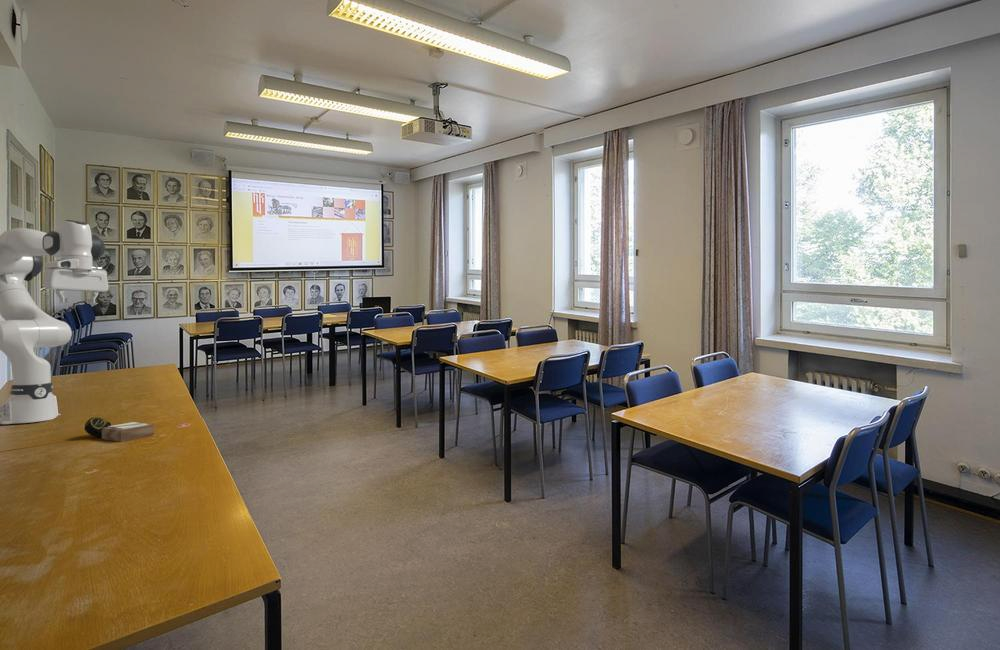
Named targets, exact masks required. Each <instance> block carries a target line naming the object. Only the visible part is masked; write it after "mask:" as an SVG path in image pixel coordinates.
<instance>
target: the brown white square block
mask: <svg viewBox="0 0 1000 650" xmlns="http://www.w3.org/2000/svg"><path fill="white" fill-rule="evenodd" d="M151 436H155V425H154V424H153V423H152V424H151V423H143V422H135V421H131V422H126V423H121V424H114V425H111V426H108V427H104V428H102V437H101V440H108V441H114V442H119V443H121V442H126V441H127V442H128V441H130V440H137V439H142V438H143V439H144V438H146V437H151Z"/></svg>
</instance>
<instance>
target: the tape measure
mask: <svg viewBox="0 0 1000 650" xmlns="http://www.w3.org/2000/svg"><path fill="white" fill-rule="evenodd" d="M108 426H112V423H111V422H110V421H107V420H106V419H104V418H103V417H98V416H95V417H91V418H89V419H88V420H87V421H86V422H85V423H84V430H85V432H86V433H87V434H88V435H90V436H93V437H96V438H99V439H102V428H104V427H108Z"/></svg>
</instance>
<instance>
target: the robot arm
mask: <svg viewBox="0 0 1000 650" xmlns="http://www.w3.org/2000/svg"><path fill="white" fill-rule="evenodd" d="M105 252H106V244H105V242H104V241H103V240H102V239H101V237H100V236H98V235H97V234H92V230H91V227H90V224H89V223H87V222H83V221H79V220H73V219H72V220H71V219H65V220H62V222H61V225H60V226H59V227H58V228H57V229H54V230H50V231H48V232H45V231H41V230H37V229H33V228H27V227H17V228H16V227H15V228H11V229H8V230H6V231H5V230H4V231H3V232H2V233H1V234H0V316H1V318H3V319H4V320H2V321H0V351H1V352H3V353H4V355H5V356H6V357H7V358H8V360H9V361H10V365H11V370H12V371H11V372H12V385H11V387H10V393H9V394H10V395H9V396H8V398H7V399H6V400H5V401H4V402H3V403H2V404H1V405H0V413H1V414H0V425H11V424H27V423H28V424H29V423H36V422H45V421H50V420H53V419H55V418H57V417H58V416H60V415H61V413H59V410H58V408H59V407H58V401H57V396H56V395H55V394H53V391H54V390H53V388H54V385H53V382H52V379H51V376H52V371H51V369H52V367H51V364H50V362H49V361H48V360H47V359H45V358H43V357H39V356H37V355H36V354H35V352H34V349H37V348H38V349H39V348H40V349H43V348H54V347H60V346H65V345H67V344H68V343H69V341H71V338H72V336H73V335H72V334H73V332H72V328H71V326H70V325H69V324H68V323H67V322H66V321H64V320H59V319H57V318H54V317H53V316H51V315H49V314H48V313H46V312H45V311H44V310H42V309H41V308H40V307H38V305H37V304H36V302H35V301H34V299H33V298H32V296H31V294H30V293H29V291H28V289H27V288H26V287H25V285H24V281H26V282H30V281H32V280H33V279H34V278H35V277H37V276H38V275H39V274H40V273H41V272H42V271H43V267H45V271H44V273H43V276H42V277H43V278H42V285H43V286H42V287H44V288H45V290H53V291H54V290H55V294H56V296H57V297H58V298H59V303H60V304H67V303H69V302H68V297H65V296H64V293H65V291H73V292H74V291H76V292H90V293H89V294H90V295H91V296H90V297H89V298H87V304H88V305H94V304H96V299H97V297H98V295H99V293H106V292H108V290H109V280H108V272H107V270H106V269H105V268H103V267H101V266H98V267H97V266H93V264H94V263H93V262H95V261H98V260H99V259H100V258H102V257H103V255H104V254H105ZM42 256H51V257H55V258H61V259H56V260H53V261H48V262H47V261H46V262H45V263H44V261H43V258H42Z"/></svg>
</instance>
